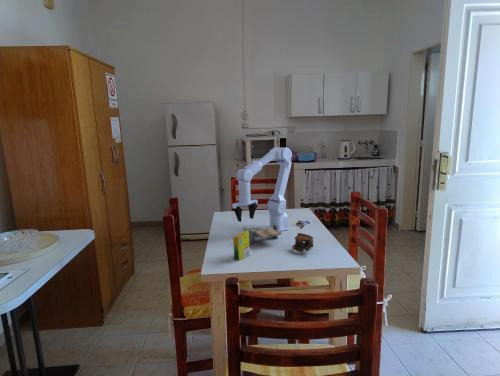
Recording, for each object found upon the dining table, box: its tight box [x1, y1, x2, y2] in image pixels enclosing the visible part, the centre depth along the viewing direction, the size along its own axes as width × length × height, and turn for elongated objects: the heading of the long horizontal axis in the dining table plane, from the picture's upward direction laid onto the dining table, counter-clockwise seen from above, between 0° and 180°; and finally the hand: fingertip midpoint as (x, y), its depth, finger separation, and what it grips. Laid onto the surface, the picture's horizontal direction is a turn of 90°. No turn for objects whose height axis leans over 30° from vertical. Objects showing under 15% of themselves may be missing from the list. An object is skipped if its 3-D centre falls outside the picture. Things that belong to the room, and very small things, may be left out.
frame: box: [249, 225, 279, 246], centre depth 163 cm, size 16×6×7 cm, turn 118°
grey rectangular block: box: [243, 225, 255, 238], centre depth 168 cm, size 4×4×6 cm
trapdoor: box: [250, 226, 282, 238], centre depth 160 cm, size 12×14×3 cm
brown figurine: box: [292, 232, 314, 253], centre depth 149 cm, size 12×9×8 cm
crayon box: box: [232, 230, 250, 261], centre depth 142 cm, size 7×3×12 cm, turn 140°
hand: (245, 219), depth 167 cm, fingers open, 7 cm apart
